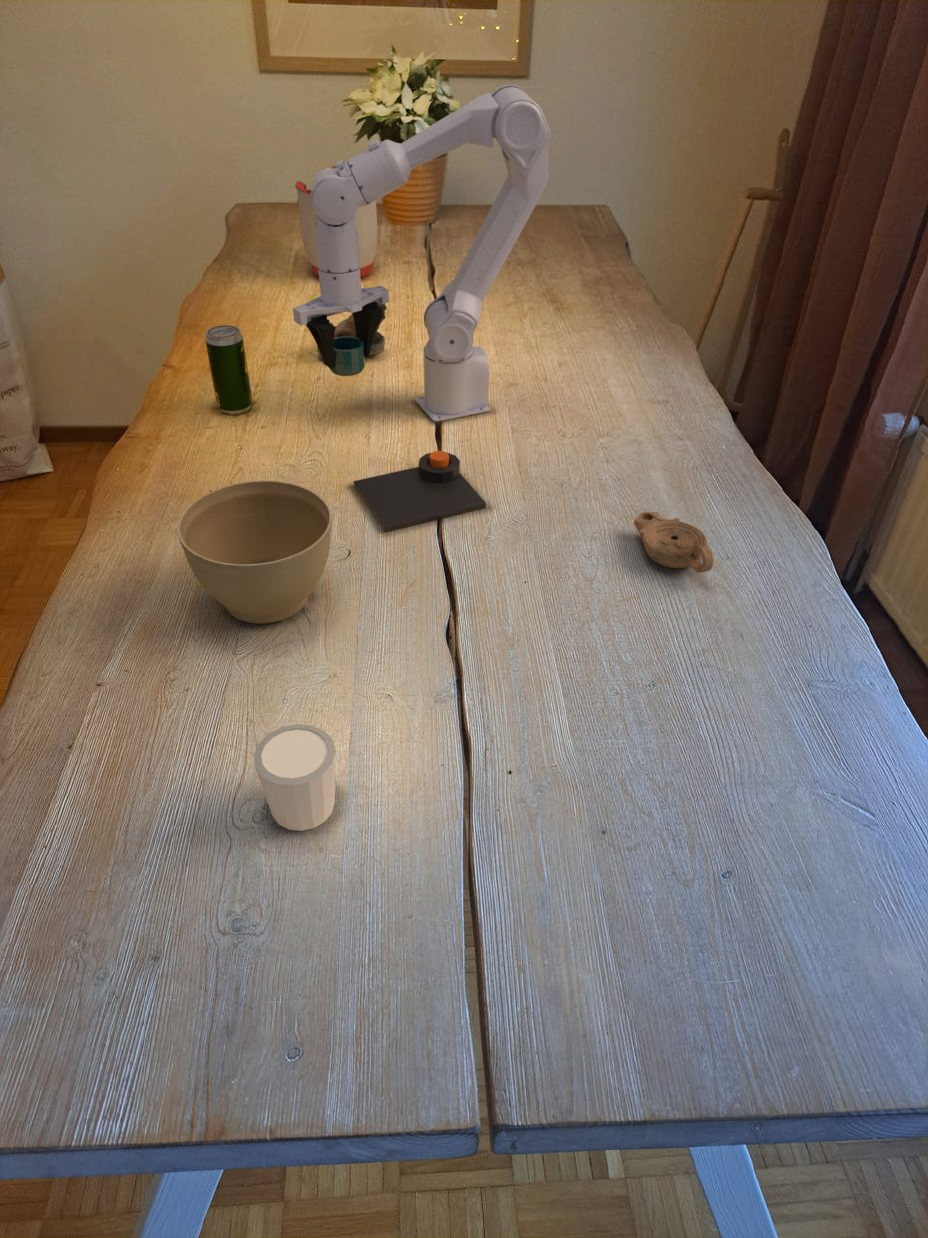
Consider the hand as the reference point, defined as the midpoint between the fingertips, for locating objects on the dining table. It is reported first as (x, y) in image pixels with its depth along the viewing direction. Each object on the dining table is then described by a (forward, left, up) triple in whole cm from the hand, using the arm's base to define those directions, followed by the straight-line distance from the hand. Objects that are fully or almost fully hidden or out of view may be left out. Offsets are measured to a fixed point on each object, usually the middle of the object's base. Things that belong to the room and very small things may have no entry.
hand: (346, 360), depth 133 cm
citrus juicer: (-18, -60, -8) cm, 63 cm away
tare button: (-5, +23, -6) cm, 24 cm away
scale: (0, +26, -8) cm, 28 cm away
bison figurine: (-7, -20, -9) cm, 23 cm away
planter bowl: (+24, +39, -9) cm, 47 cm away
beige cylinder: (+29, +69, -9) cm, 76 cm away
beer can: (+16, -9, -9) cm, 20 cm away
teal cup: (0, 0, -1) cm, 1 cm away
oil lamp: (-23, +51, -9) cm, 57 cm away
